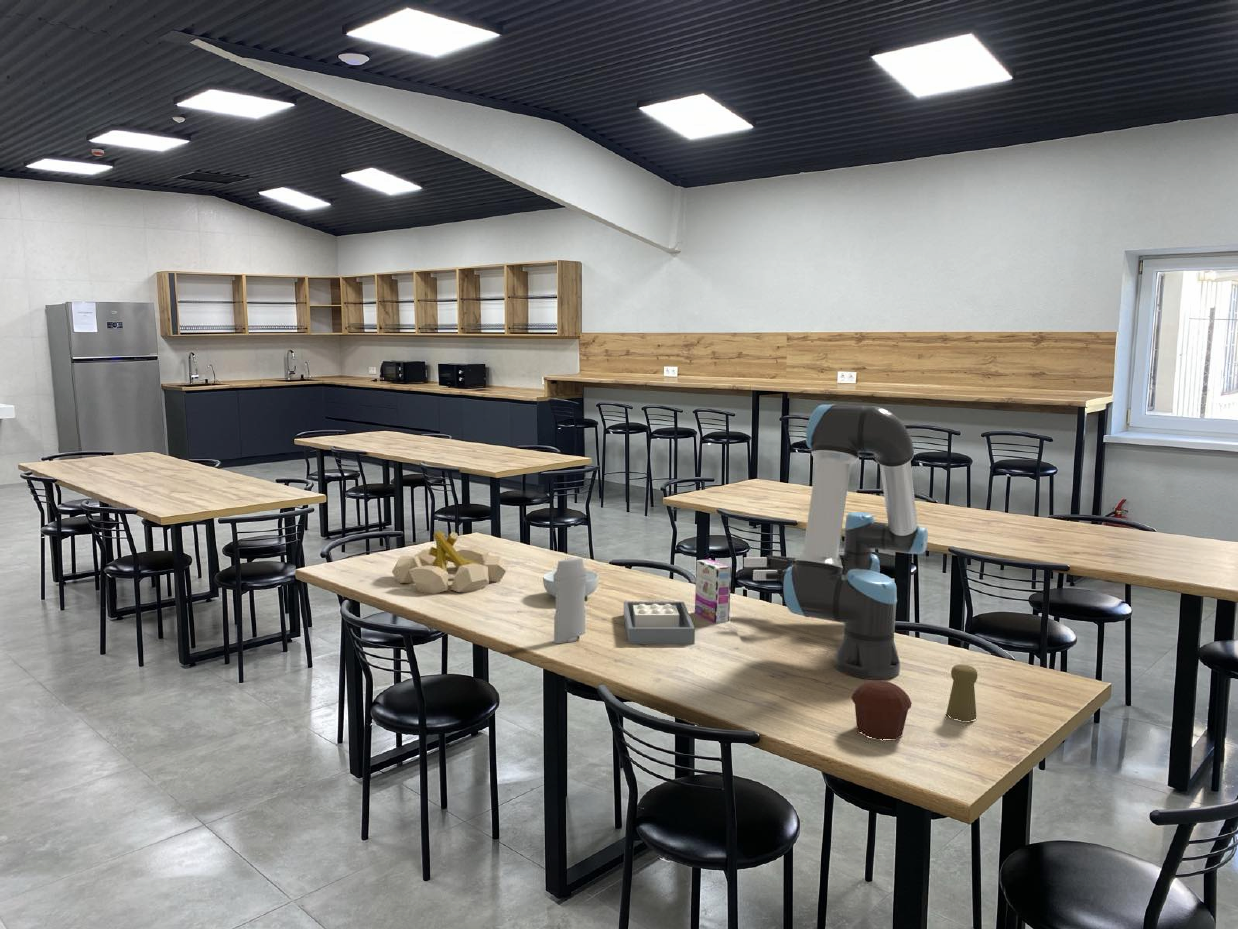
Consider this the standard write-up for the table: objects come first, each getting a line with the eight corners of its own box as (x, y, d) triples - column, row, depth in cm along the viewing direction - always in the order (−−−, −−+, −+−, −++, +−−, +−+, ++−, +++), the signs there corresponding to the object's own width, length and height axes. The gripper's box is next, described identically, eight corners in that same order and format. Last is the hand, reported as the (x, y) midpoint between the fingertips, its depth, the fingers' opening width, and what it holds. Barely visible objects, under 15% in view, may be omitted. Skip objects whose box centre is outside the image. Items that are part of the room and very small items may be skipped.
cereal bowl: (588, 588, 281) (588, 566, 280) (606, 602, 265) (606, 579, 264) (536, 592, 275) (536, 570, 274) (551, 607, 259) (552, 584, 258)
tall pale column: (557, 646, 226) (558, 562, 223) (548, 641, 230) (549, 558, 227) (590, 637, 233) (591, 556, 230) (581, 633, 236) (582, 553, 233)
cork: (969, 710, 190) (972, 661, 189) (981, 722, 184) (985, 671, 183) (941, 710, 190) (944, 661, 188) (953, 722, 184) (956, 671, 182)
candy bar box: (730, 624, 246) (732, 567, 244) (715, 626, 244) (717, 568, 242) (708, 613, 256) (710, 558, 254) (693, 615, 254) (695, 559, 252)
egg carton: (679, 627, 240) (679, 611, 239) (634, 627, 239) (635, 611, 238) (675, 617, 248) (675, 601, 248) (632, 617, 248) (633, 601, 247)
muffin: (852, 740, 175) (854, 692, 173) (846, 717, 185) (849, 672, 184) (914, 746, 173) (917, 697, 171) (905, 722, 184) (908, 676, 182)
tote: (694, 647, 227) (695, 628, 226) (628, 647, 226) (628, 628, 225) (683, 618, 251) (683, 601, 250) (623, 618, 250) (623, 601, 249)
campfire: (377, 578, 289) (376, 527, 287) (466, 562, 312) (465, 514, 310) (432, 602, 264) (432, 546, 261) (525, 583, 286) (525, 531, 284)
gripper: (835, 594, 238) (757, 594, 237) (810, 569, 263) (740, 569, 262) (836, 567, 237) (758, 567, 236) (811, 544, 262) (740, 544, 261)
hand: (748, 568), depth 249 cm, fingers open, 13 cm apart
